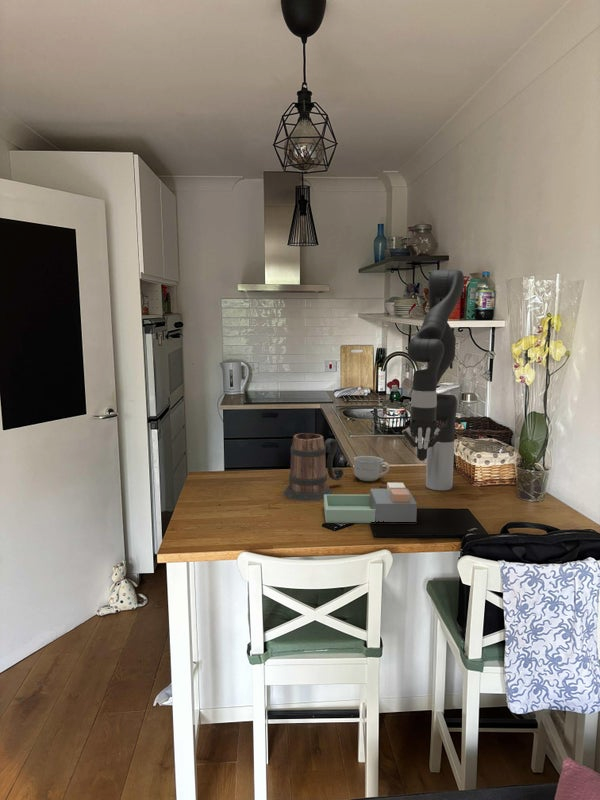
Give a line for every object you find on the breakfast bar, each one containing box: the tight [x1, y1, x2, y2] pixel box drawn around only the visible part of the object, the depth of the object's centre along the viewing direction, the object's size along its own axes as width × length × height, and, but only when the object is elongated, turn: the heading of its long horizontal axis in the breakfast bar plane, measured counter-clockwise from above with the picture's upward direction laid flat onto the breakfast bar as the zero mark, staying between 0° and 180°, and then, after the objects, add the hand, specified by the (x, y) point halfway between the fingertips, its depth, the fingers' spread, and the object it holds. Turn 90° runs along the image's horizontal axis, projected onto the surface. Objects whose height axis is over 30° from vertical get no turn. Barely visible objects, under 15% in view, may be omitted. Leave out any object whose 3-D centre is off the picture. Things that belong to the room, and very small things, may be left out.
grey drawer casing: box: [369, 488, 418, 523], centre depth 176 cm, size 14×12×6 cm
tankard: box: [282, 432, 344, 502], centre depth 197 cm, size 24×17×20 cm
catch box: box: [323, 494, 376, 524], centre depth 176 cm, size 14×15×4 cm
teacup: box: [353, 455, 390, 482], centre depth 211 cm, size 14×11×8 cm
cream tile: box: [386, 482, 407, 495], centre depth 178 cm, size 5×5×2 cm
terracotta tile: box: [390, 488, 410, 503], centre depth 172 cm, size 5×5×2 cm
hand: (421, 460), depth 177 cm, fingers closed
